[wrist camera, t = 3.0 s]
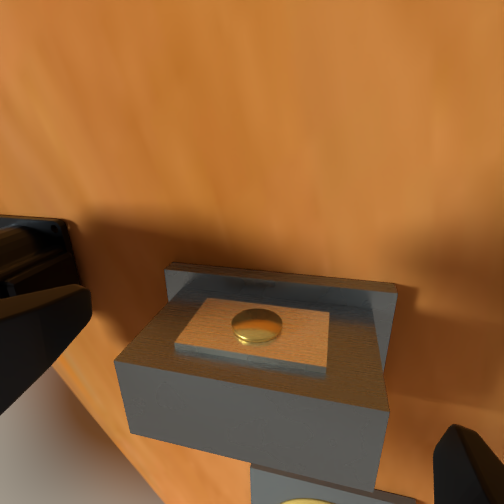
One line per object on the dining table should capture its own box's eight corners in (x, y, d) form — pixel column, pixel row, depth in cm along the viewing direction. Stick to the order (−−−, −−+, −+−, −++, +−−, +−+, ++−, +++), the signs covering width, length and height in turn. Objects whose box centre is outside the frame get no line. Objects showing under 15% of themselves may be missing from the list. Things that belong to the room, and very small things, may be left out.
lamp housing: (183, 345, 21) (114, 443, 14) (172, 262, 18) (86, 335, 12) (377, 377, 18) (398, 517, 12) (394, 283, 16) (431, 394, 9)
